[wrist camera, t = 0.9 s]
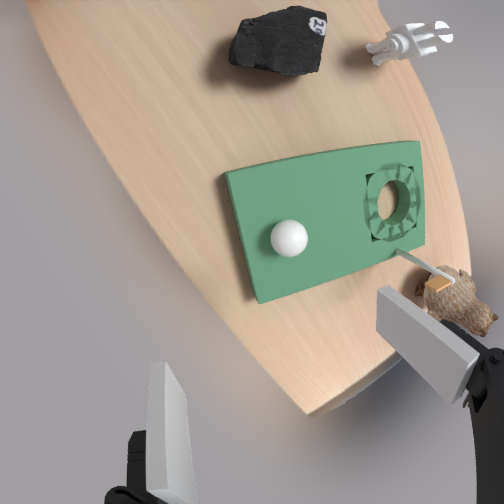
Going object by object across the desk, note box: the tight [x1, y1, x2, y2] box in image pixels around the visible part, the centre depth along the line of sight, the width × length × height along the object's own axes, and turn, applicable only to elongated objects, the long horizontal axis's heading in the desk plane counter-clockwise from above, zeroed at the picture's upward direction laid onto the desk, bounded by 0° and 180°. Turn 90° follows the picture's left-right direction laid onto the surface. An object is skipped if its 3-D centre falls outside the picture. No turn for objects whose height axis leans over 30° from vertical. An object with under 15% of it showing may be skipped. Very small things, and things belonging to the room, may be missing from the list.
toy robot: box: [365, 21, 453, 66], centre depth 20 cm, size 4×8×12 cm, turn 119°
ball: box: [271, 220, 308, 257], centre depth 26 cm, size 4×4×4 cm
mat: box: [224, 141, 455, 304], centre depth 25 cm, size 14×24×12 cm, turn 103°
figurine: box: [415, 266, 498, 337], centre depth 32 cm, size 9×10×15 cm
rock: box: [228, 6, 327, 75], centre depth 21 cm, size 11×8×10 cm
